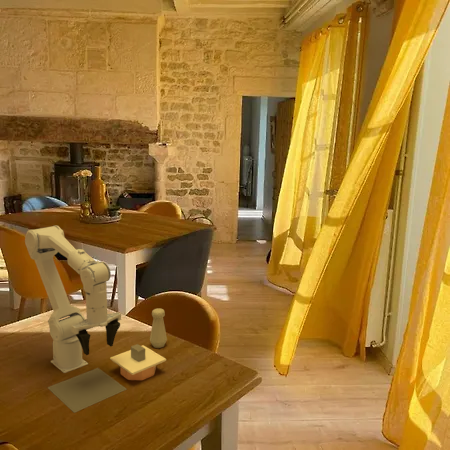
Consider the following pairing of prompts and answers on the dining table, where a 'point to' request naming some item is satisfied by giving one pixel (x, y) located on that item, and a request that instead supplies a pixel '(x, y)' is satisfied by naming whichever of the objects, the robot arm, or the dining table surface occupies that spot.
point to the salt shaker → (158, 329)
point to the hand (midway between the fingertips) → (98, 349)
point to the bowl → (138, 374)
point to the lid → (137, 359)
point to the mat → (86, 389)
